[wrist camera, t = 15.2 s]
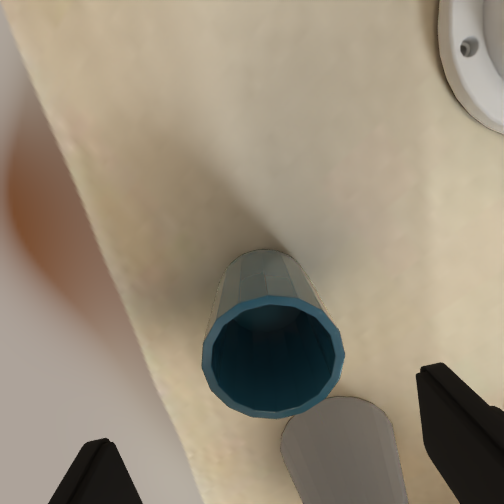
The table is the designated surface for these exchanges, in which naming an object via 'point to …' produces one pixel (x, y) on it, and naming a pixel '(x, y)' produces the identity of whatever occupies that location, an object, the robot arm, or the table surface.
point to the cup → (270, 339)
